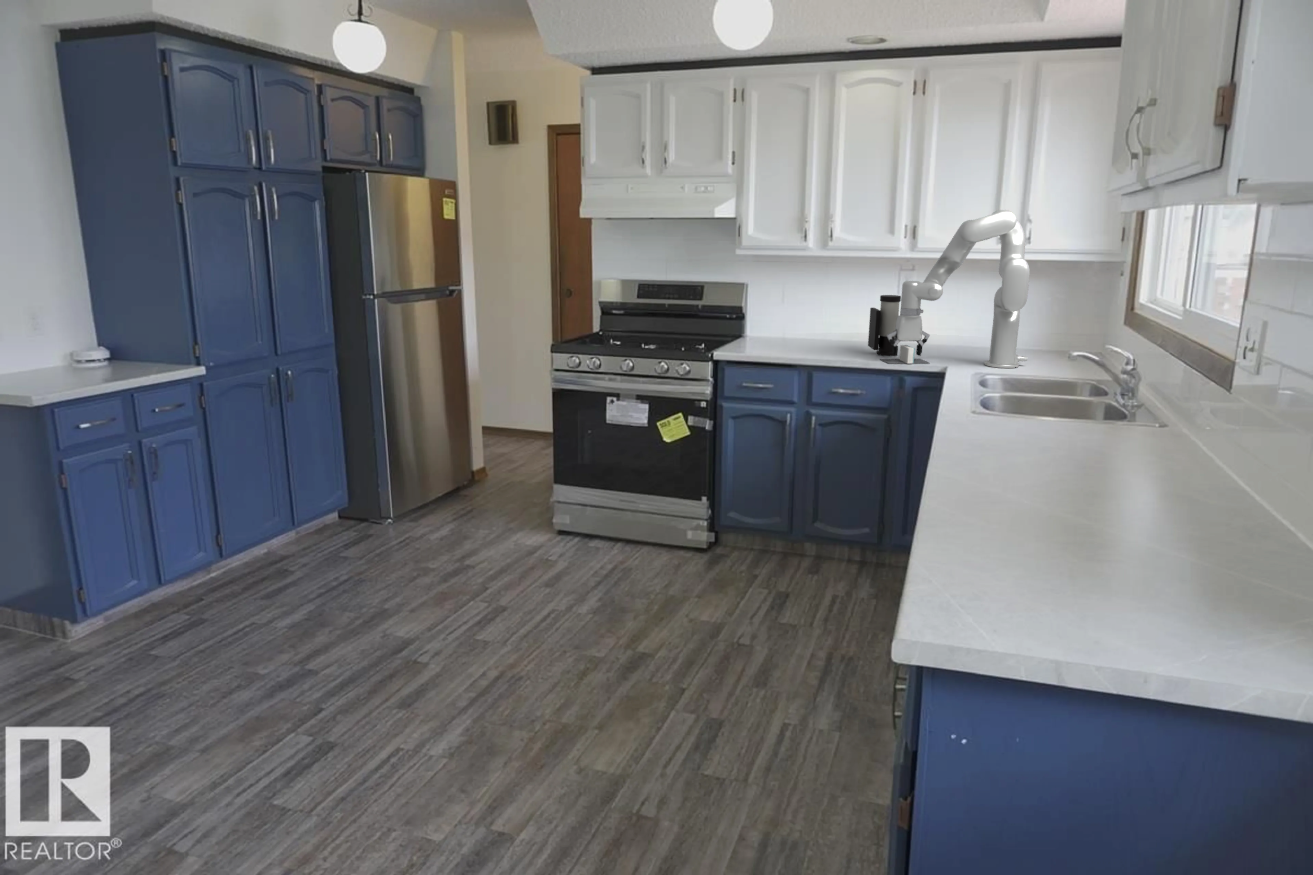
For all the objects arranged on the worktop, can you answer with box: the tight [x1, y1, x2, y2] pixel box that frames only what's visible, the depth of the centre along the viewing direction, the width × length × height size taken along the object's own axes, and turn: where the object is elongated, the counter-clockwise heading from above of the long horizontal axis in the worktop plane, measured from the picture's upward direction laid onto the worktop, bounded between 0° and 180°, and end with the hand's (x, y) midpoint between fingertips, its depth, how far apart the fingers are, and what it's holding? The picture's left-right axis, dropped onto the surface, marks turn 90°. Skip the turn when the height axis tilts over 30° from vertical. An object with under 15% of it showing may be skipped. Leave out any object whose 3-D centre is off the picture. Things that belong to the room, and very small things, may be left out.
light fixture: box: [867, 294, 902, 357], centre depth 368 cm, size 12×11×25 cm
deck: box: [898, 344, 916, 363], centre depth 350 cm, size 2×9×6 cm, turn 5°
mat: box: [879, 358, 930, 365], centre depth 353 cm, size 17×10×1 cm, turn 95°
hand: (906, 355), depth 350 cm, fingers open, 9 cm apart
